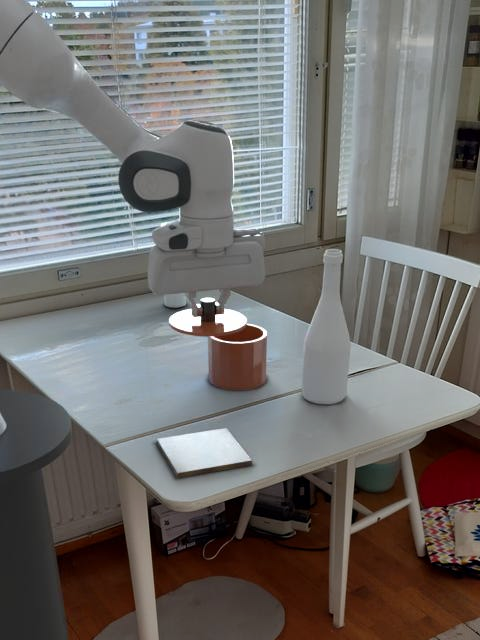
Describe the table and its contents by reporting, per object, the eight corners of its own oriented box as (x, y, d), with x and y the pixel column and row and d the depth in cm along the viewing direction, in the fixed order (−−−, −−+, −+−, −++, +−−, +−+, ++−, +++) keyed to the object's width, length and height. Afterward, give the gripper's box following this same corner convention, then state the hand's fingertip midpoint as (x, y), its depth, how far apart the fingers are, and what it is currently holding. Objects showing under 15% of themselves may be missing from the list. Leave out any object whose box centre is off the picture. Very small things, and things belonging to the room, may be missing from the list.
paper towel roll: (177, 309, 213) (174, 227, 201) (159, 305, 216) (155, 224, 204) (192, 302, 218) (190, 222, 206) (175, 299, 221) (172, 219, 209)
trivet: (177, 478, 137) (177, 473, 136) (156, 443, 148) (156, 438, 147) (252, 465, 141) (252, 460, 140) (226, 432, 152) (226, 427, 151)
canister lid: (182, 344, 130) (181, 316, 128) (159, 318, 141) (158, 292, 138) (258, 334, 134) (259, 307, 132) (231, 310, 145) (231, 285, 142)
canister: (219, 393, 167) (219, 346, 161) (201, 372, 177) (200, 326, 171) (274, 385, 171) (275, 339, 165) (253, 365, 180) (254, 320, 174)
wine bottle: (304, 385, 171) (312, 243, 154) (348, 389, 169) (360, 246, 152) (297, 403, 163) (305, 255, 146) (343, 407, 161) (356, 258, 145)
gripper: (258, 223, 134) (256, 303, 142) (142, 232, 128) (147, 315, 136) (272, 231, 129) (269, 314, 137) (152, 241, 123) (156, 326, 131)
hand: (207, 314), depth 136 cm, fingers closed on canister lid, 2 cm apart
